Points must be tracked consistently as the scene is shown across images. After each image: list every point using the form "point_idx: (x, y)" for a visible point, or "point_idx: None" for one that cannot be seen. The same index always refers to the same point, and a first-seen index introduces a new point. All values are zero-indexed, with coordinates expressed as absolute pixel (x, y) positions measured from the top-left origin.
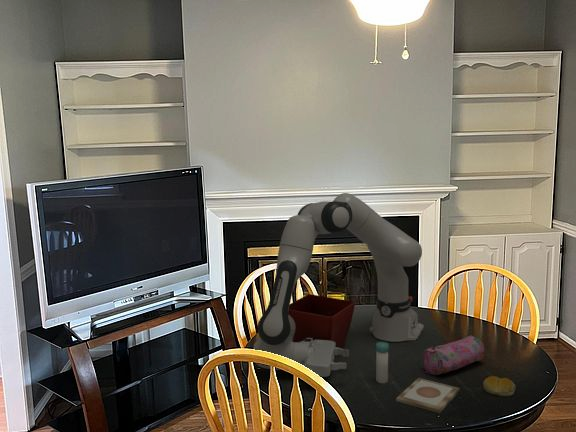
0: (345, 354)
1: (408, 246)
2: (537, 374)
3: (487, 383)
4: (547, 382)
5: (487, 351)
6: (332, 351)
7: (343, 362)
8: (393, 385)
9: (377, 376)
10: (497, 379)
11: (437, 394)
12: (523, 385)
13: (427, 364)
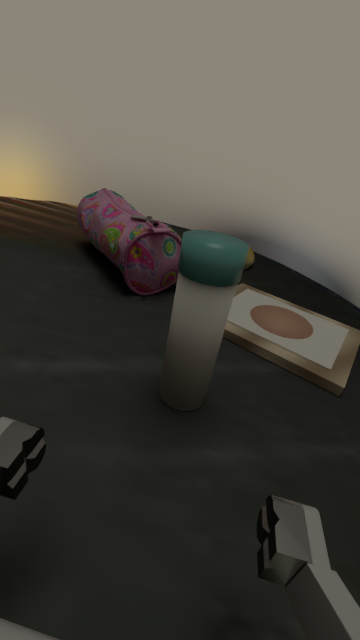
0: (25, 466)
1: None
2: (174, 230)
3: None
4: None
5: (74, 226)
6: (12, 638)
7: (296, 525)
8: (221, 373)
9: (199, 391)
10: None
11: (289, 312)
12: None
13: (149, 273)
